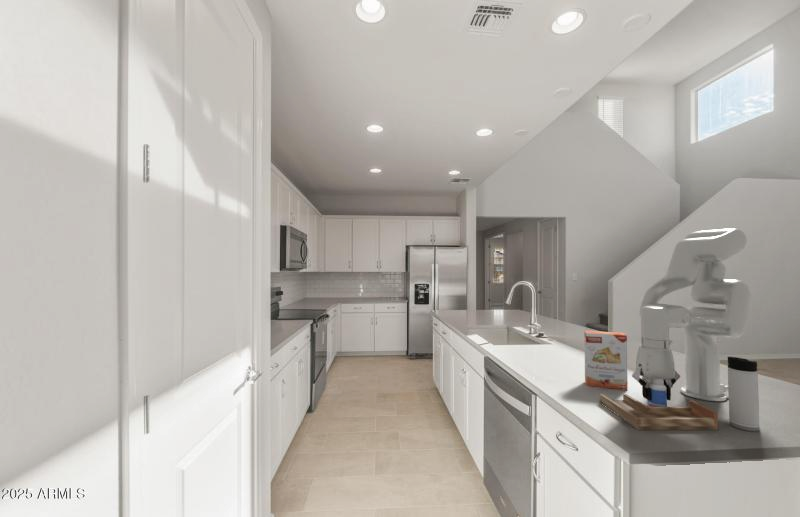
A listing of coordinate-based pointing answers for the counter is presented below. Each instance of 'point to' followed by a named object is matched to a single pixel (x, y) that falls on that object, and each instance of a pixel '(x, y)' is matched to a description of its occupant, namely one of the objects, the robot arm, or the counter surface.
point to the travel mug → (743, 394)
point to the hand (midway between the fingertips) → (656, 398)
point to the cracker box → (606, 359)
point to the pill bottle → (657, 394)
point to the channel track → (663, 415)
